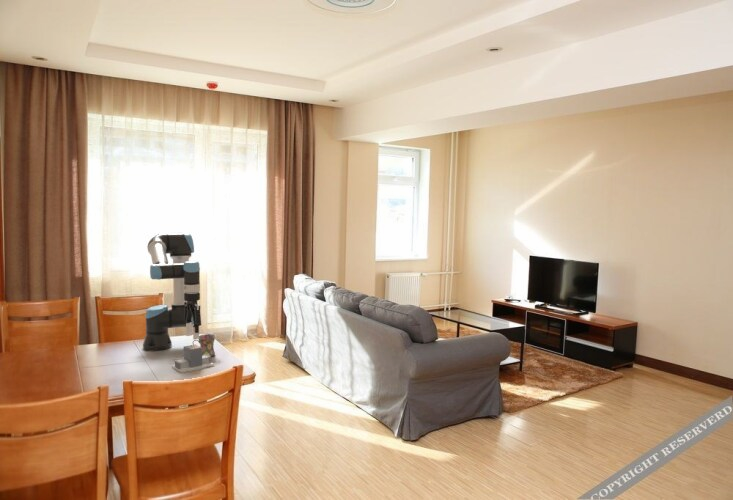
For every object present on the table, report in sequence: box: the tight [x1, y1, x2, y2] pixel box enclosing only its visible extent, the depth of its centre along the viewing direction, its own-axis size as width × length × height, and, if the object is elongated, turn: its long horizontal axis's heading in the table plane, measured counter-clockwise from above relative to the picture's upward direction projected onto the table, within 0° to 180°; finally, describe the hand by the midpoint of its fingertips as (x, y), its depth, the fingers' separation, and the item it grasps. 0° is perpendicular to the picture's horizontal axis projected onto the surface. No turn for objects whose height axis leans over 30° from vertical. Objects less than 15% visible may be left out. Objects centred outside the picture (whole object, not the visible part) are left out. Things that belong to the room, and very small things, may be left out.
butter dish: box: [171, 354, 215, 374], centre depth 263 cm, size 11×17×4 cm, turn 132°
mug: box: [192, 333, 217, 357], centre depth 281 cm, size 12×9×11 cm
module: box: [183, 344, 202, 368], centre depth 263 cm, size 8×6×9 cm
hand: (192, 337), depth 262 cm, fingers open, 8 cm apart
